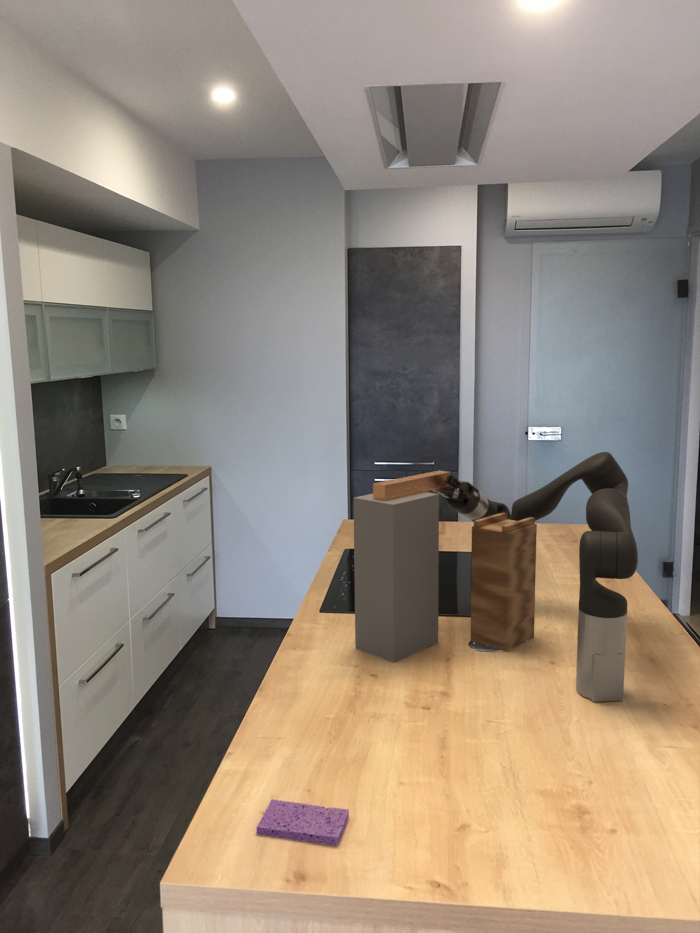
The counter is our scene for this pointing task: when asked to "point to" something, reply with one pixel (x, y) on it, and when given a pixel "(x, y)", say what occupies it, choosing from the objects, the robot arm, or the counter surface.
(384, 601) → the stand
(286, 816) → the sponges
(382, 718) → the counter surface
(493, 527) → the wood grain block
